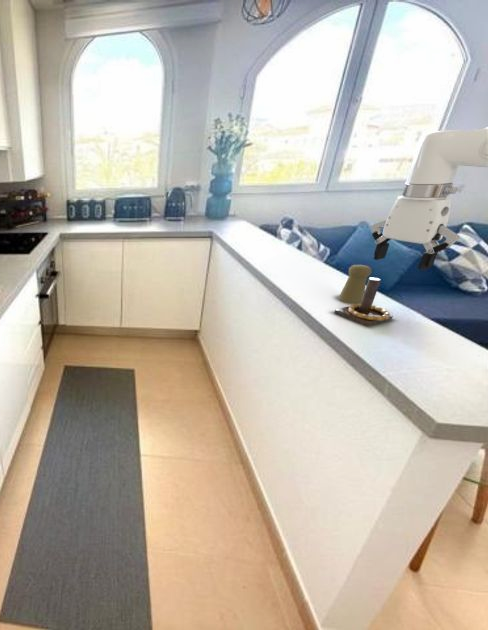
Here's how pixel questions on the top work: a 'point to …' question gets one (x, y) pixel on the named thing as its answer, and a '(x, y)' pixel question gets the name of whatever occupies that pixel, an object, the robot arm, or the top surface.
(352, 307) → the ring
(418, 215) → the robot arm
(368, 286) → the rack
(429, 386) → the top surface
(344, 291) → the cork
